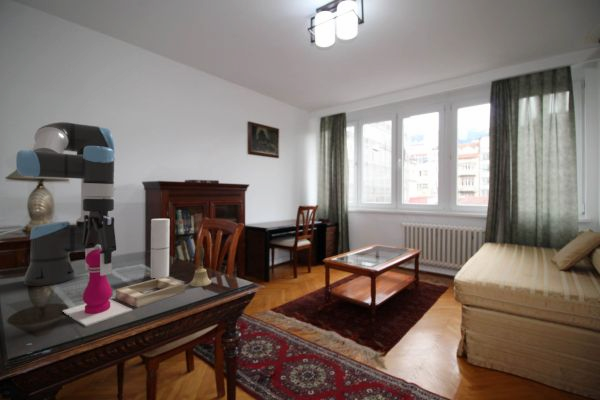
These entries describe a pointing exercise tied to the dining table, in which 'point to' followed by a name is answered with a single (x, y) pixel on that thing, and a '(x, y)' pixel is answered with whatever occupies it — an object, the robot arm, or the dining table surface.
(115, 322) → the dining table surface
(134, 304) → the maple frame
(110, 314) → the plastic pad
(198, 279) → the hand bell
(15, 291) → the dining table surface
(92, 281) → the pepper mill
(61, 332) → the dining table surface
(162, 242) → the cylindrical container
